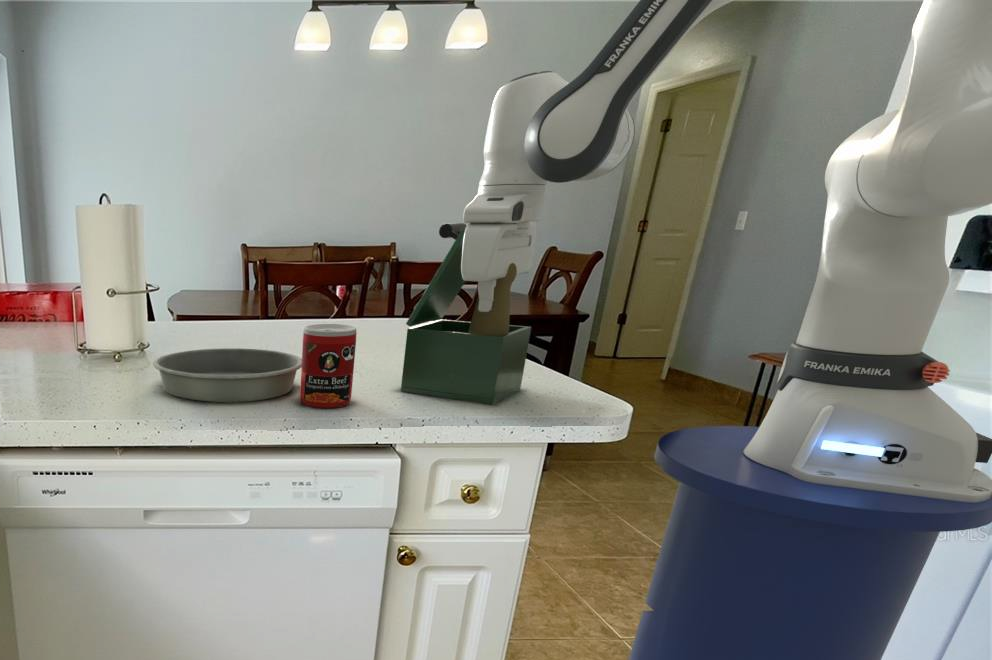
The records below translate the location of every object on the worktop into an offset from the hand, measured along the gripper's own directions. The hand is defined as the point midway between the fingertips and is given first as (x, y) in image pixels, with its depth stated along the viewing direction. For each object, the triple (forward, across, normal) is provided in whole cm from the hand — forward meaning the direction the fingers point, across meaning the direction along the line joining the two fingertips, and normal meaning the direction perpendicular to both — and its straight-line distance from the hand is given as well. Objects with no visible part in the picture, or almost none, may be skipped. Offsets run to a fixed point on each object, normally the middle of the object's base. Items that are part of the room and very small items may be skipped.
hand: (492, 309), depth 107 cm
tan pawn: (+4, 0, 0) cm, 4 cm away
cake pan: (+13, +21, -34) cm, 42 cm away
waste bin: (+13, 0, -3) cm, 13 cm away
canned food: (+13, +20, -16) cm, 29 cm away
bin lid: (-4, 0, -6) cm, 8 cm away
